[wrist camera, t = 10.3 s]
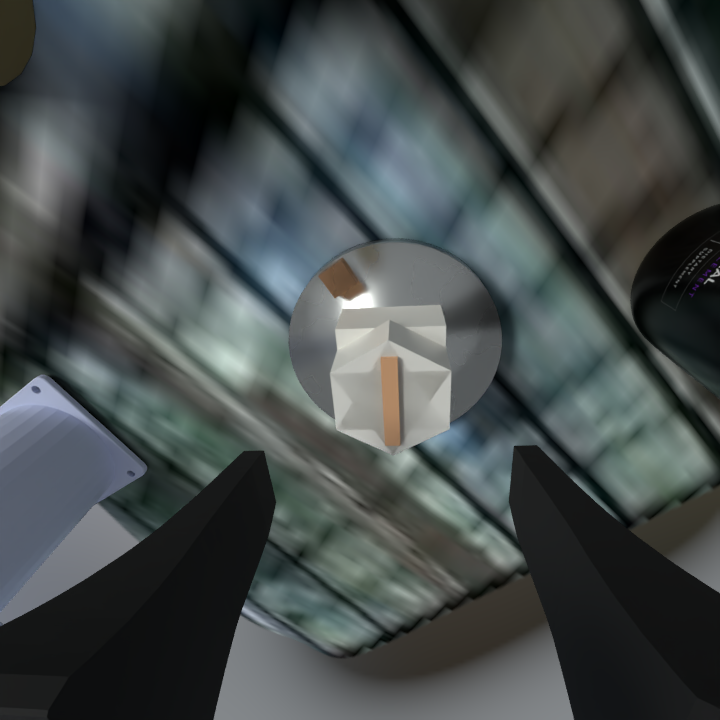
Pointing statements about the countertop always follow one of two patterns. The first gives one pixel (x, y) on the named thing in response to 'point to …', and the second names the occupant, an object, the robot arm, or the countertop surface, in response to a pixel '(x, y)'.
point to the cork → (15, 37)
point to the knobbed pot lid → (391, 289)
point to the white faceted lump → (391, 375)
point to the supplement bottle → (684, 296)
